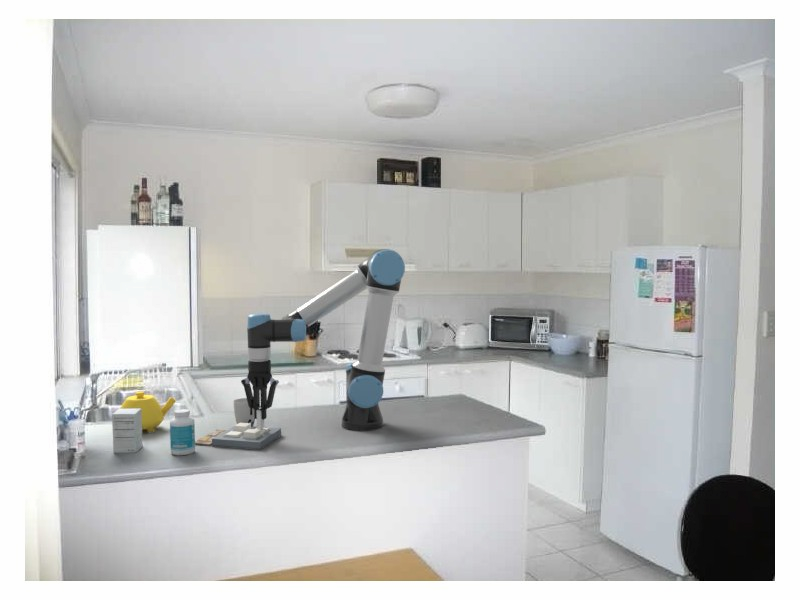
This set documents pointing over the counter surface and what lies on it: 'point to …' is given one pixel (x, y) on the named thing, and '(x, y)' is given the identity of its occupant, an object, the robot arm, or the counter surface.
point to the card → (208, 438)
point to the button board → (246, 440)
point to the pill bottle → (182, 433)
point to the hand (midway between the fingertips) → (260, 428)
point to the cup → (243, 411)
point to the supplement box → (127, 430)
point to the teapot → (148, 409)
